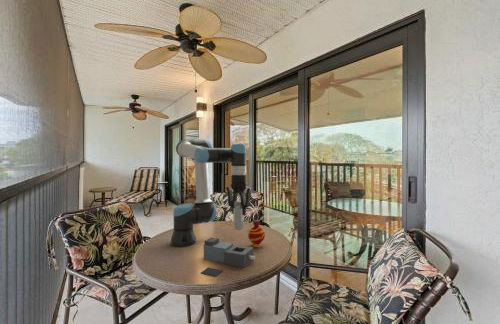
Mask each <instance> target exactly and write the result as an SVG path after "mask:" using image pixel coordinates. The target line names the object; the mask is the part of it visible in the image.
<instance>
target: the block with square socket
mask: <svg viewBox="0 0 500 324" xmlns="http://www.w3.org/2000/svg"><path fill="white" fill-rule="evenodd" d="M203 242H204V244H203V259H206V260H209V261H216V262H221V263H223V264H224V265H228V266H234V267H238V268H239V267H240V268H246V267H247V266H248V265H249V264H250V263H251V262H252V261H255V259H256V256H255V255H254V247H253V246H244V245H237V244H234V243H230V242H226V241H225V242H223V241H220V238H219V237H212V236H211V237H209V238H207V239H206V240H204V241H203Z"/></svg>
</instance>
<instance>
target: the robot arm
mask: <svg viewBox="0 0 500 324" xmlns="http://www.w3.org/2000/svg"><path fill="white" fill-rule="evenodd" d="M175 151H176V154H177V155H178V156H179V157H182V158H190V159H191V161H192V162H193V163H194V175H195V178H194V179H195V194H196V196H195V197H196V198H195V201H194V205H193V203H182V204H179V205H177V206H175V207H174V208H173V213H172V214H173V215H172V216H173V232H172V235H171V239H170V245H171V246H173V247H178V248H182V247H188V246H193V245H195V244H196V243H197V237H196V235H195V231H194V225H199V224H207V223H209V222H211V223H212V222H213V221H214V220H215V218H216V217H217V206H216V204H215V203H213V200H212V199H211V195H210V193H211V192H210V179H209V177H210V176H209V174H210V173H209V163H210V164H211V163H213V164H214V163H215V164H216V163H218V164H219V163H230V164H231V168H230V170H231V171H230V172H231V173H230V174H231V175H230V177H231V178H230V180H231V181H230V182H231V184H230V186H229V185H228V186H226V188H225V190H226V191H227V204H228V205H227V206H229V207H231V214H232V215H233V222H235V201H238V195H239V197H240V201H241V205H242V208H241V222H243V223H244V222H245V215H246V214H247V213H246V211H247V210H246V209H247V208H249V207H250V204H251V203H250V202H251V191H252V187H249V186H248V185H247V147H246V144H245V143H231V145H230V148H227V147H226V148H225V147H223V148H221V147H213V144H212V143H211V142H210V141H209V140H206V139H183V140H179V141H178V142H177V144H176V145H175ZM245 191H246V193H245Z"/></svg>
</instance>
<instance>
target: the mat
mask: <svg viewBox="0 0 500 324" xmlns="http://www.w3.org/2000/svg"><path fill="white" fill-rule="evenodd" d="M223 272H224V271H223V269H219V268H214V267H213V268H212V267H207V268H205V269H204V270H202V271H200V274H202V275H206V276H211V277H217V276H219V275H220V274H221V273H223Z"/></svg>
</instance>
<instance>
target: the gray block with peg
mask: <svg viewBox="0 0 500 324" xmlns="http://www.w3.org/2000/svg"><path fill="white" fill-rule="evenodd" d="M241 208H242V205H241V200H237V201H235V221H234V230H237V231H241V230H243V229H244V221H243V222H241Z"/></svg>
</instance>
